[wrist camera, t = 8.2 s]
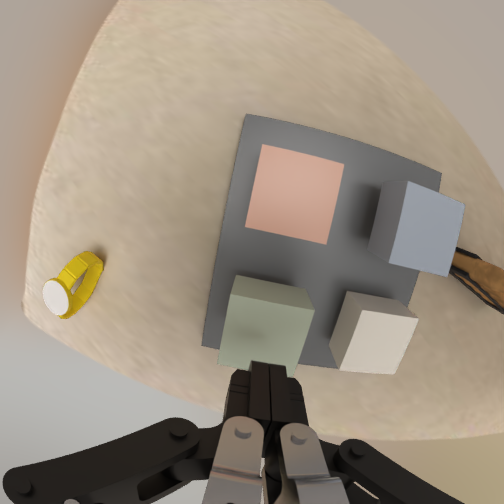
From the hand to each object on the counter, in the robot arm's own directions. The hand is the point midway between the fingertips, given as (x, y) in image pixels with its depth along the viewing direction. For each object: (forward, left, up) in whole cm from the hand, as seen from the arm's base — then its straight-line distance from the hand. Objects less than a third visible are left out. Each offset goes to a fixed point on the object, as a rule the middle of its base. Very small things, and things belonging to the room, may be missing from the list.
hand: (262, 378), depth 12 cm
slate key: (-8, -8, -7) cm, 13 cm away
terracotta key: (0, -8, -9) cm, 12 cm away
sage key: (0, 0, -7) cm, 7 cm away
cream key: (-8, 0, -9) cm, 12 cm away
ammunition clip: (-19, -5, -11) cm, 23 cm away
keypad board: (-4, -4, -11) cm, 12 cm away
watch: (+15, +2, -11) cm, 19 cm away
